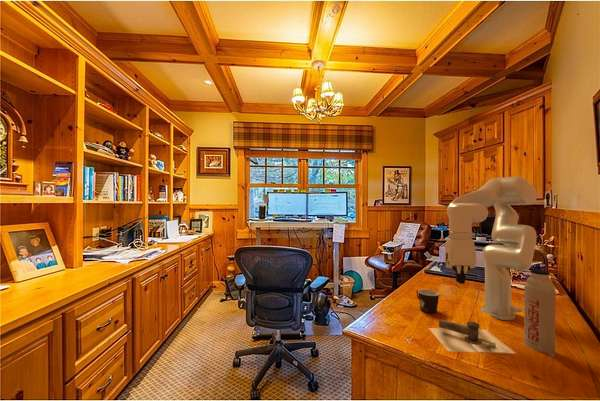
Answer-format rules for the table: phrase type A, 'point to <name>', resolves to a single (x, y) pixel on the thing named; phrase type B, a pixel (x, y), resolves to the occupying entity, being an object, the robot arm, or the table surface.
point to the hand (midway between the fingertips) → (460, 282)
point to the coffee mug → (428, 300)
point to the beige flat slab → (469, 342)
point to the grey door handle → (464, 329)
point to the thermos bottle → (539, 312)
